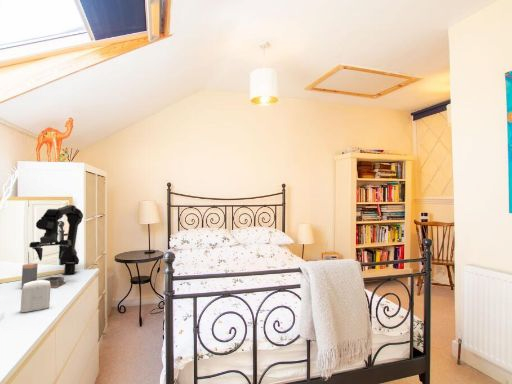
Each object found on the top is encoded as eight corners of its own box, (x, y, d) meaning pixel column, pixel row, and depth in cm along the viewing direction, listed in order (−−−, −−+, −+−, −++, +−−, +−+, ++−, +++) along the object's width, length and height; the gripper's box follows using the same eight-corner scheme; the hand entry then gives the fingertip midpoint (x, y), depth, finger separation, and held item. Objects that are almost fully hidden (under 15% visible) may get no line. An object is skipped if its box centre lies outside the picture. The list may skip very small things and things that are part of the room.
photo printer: (48, 305, 137) (49, 277, 137) (50, 308, 134) (51, 279, 134) (19, 310, 130) (21, 281, 130) (21, 313, 126) (22, 283, 127)
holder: (48, 283, 171) (49, 276, 171) (65, 283, 171) (66, 276, 171) (38, 288, 162) (39, 280, 162) (56, 288, 162) (57, 280, 163)
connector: (27, 287, 163) (28, 263, 163) (36, 287, 163) (37, 263, 164) (21, 289, 158) (22, 265, 159) (30, 289, 159) (32, 265, 159)
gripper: (25, 230, 161) (23, 261, 157) (64, 228, 165) (63, 258, 161) (35, 233, 171) (33, 261, 168) (72, 230, 175) (71, 258, 172)
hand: (50, 259), depth 167 cm, fingers open, 9 cm apart
